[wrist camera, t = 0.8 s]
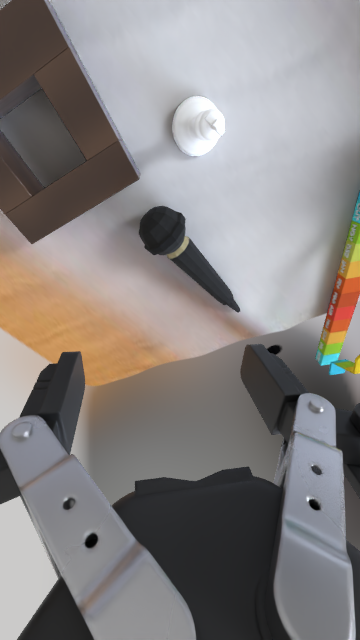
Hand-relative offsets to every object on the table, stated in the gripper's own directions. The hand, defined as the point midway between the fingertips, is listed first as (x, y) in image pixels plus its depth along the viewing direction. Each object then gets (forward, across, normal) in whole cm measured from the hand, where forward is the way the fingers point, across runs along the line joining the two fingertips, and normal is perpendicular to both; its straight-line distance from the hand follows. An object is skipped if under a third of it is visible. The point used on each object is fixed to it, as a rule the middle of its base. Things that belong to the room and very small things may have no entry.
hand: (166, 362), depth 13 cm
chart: (+23, -30, +5) cm, 38 cm away
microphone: (+24, -6, +2) cm, 25 cm away
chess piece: (+22, -5, -13) cm, 26 cm away
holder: (+23, +10, -11) cm, 27 cm away
